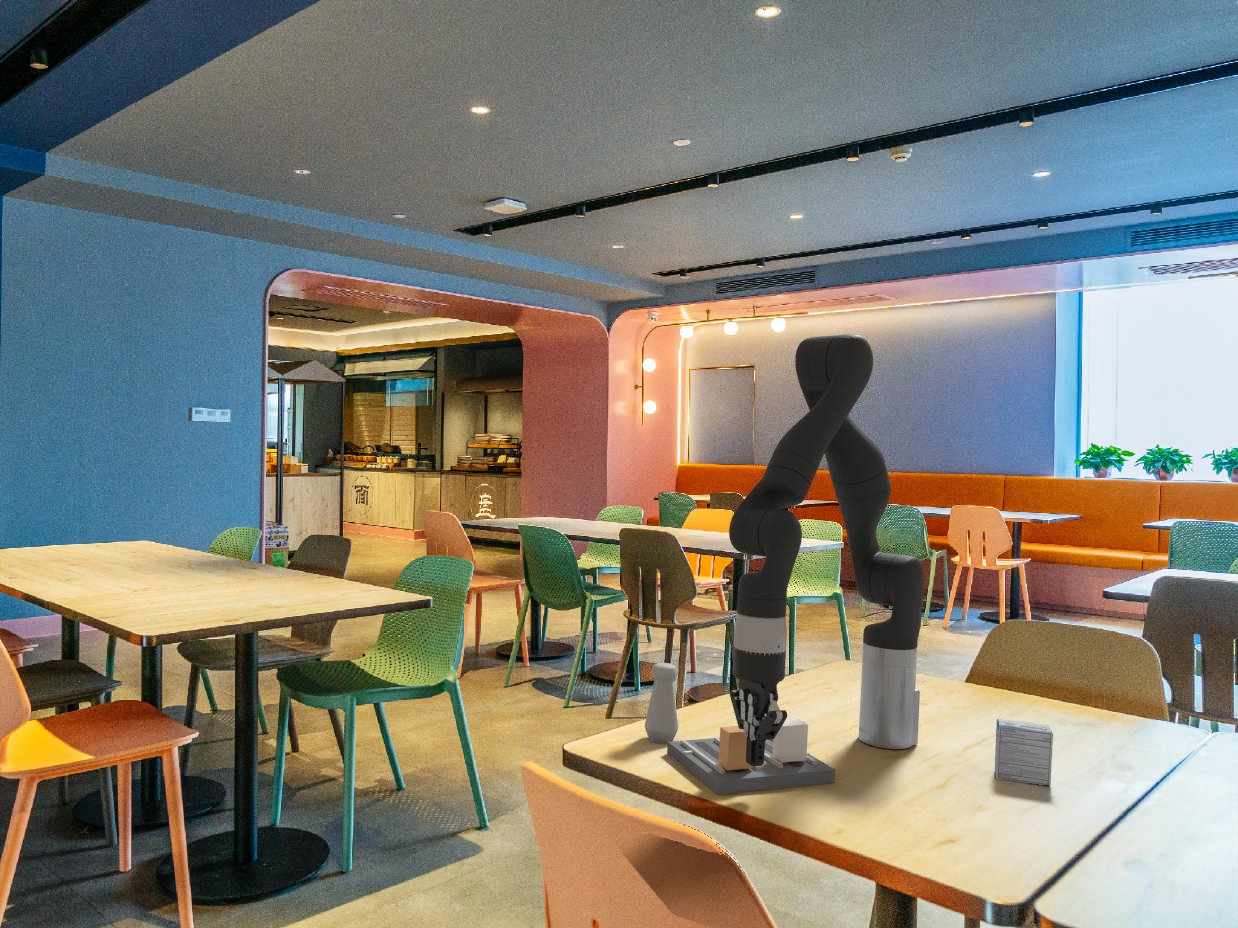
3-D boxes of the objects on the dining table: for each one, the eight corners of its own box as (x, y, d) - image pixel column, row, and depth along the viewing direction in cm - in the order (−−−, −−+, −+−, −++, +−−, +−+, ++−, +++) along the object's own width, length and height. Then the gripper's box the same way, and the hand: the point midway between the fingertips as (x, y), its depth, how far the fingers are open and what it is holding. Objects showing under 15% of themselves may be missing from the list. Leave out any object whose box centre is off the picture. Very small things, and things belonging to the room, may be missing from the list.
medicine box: (1047, 778, 141) (1049, 724, 140) (1051, 787, 136) (1053, 732, 136) (993, 770, 143) (996, 717, 143) (995, 779, 139) (998, 724, 139)
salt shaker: (675, 746, 148) (678, 669, 148) (641, 742, 149) (645, 666, 149) (679, 736, 153) (683, 661, 153) (647, 732, 155) (650, 659, 155)
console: (773, 744, 151) (774, 729, 151) (834, 782, 134) (835, 765, 134) (667, 753, 144) (667, 737, 144) (717, 794, 127) (718, 776, 127)
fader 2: (796, 754, 139) (798, 718, 139) (806, 760, 137) (808, 724, 137) (772, 756, 138) (774, 720, 138) (781, 762, 135) (783, 726, 135)
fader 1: (744, 761, 135) (745, 725, 135) (753, 767, 132) (755, 730, 132) (718, 763, 133) (720, 726, 133) (727, 770, 131) (729, 732, 130)
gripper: (807, 654, 123) (801, 778, 123) (759, 635, 135) (754, 747, 135) (760, 656, 120) (754, 783, 120) (715, 636, 132) (710, 751, 133)
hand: (754, 764), depth 128 cm, fingers closed
